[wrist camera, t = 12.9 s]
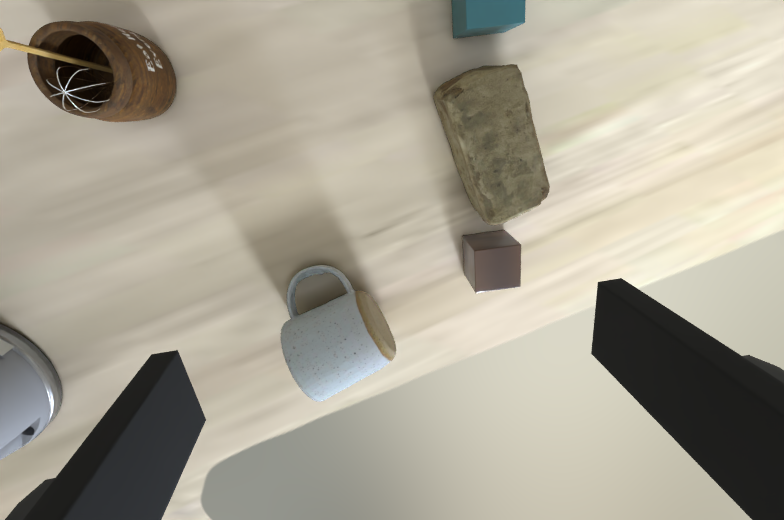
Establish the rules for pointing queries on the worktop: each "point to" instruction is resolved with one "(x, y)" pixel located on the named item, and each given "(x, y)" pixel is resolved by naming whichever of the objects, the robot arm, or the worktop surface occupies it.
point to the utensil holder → (99, 70)
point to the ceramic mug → (335, 339)
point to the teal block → (486, 16)
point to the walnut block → (492, 261)
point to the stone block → (494, 141)
